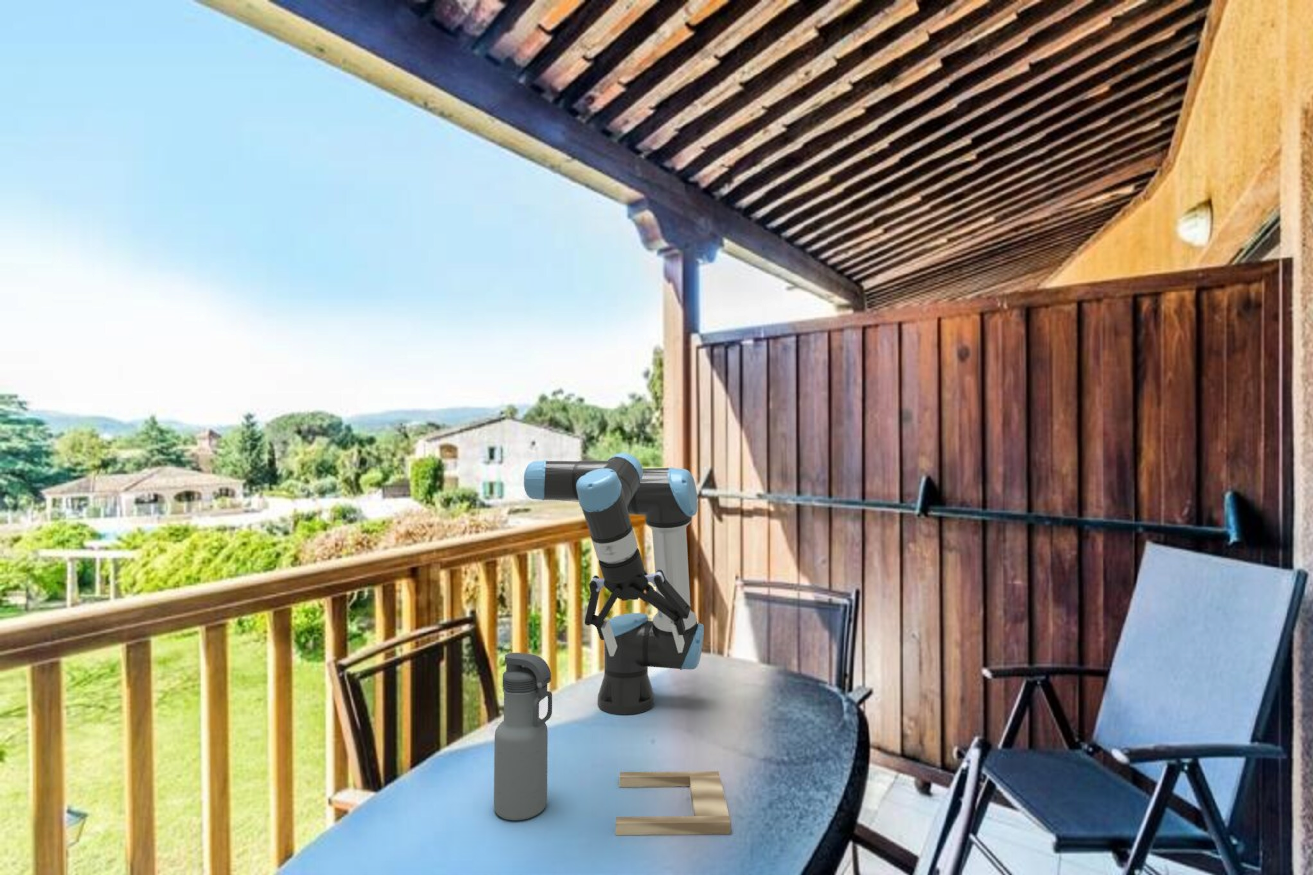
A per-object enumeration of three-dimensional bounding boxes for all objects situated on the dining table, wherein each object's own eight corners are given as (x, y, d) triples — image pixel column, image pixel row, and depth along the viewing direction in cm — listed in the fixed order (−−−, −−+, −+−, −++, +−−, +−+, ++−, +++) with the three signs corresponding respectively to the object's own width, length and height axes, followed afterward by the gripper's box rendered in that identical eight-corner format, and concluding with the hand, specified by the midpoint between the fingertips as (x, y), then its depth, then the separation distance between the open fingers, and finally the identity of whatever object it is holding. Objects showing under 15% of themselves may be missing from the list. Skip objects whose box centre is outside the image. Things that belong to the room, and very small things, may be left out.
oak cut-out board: (619, 782, 126) (619, 772, 127) (718, 781, 127) (718, 771, 127) (615, 835, 108) (615, 823, 109) (730, 833, 109) (730, 822, 109)
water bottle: (558, 799, 120) (559, 651, 121) (532, 827, 111) (533, 667, 112) (512, 790, 123) (513, 646, 125) (483, 816, 114) (484, 661, 115)
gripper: (547, 571, 112) (580, 666, 119) (681, 558, 105) (708, 660, 112) (562, 549, 119) (592, 640, 125) (688, 535, 112) (713, 632, 118)
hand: (647, 649), depth 118 cm, fingers open, 13 cm apart
